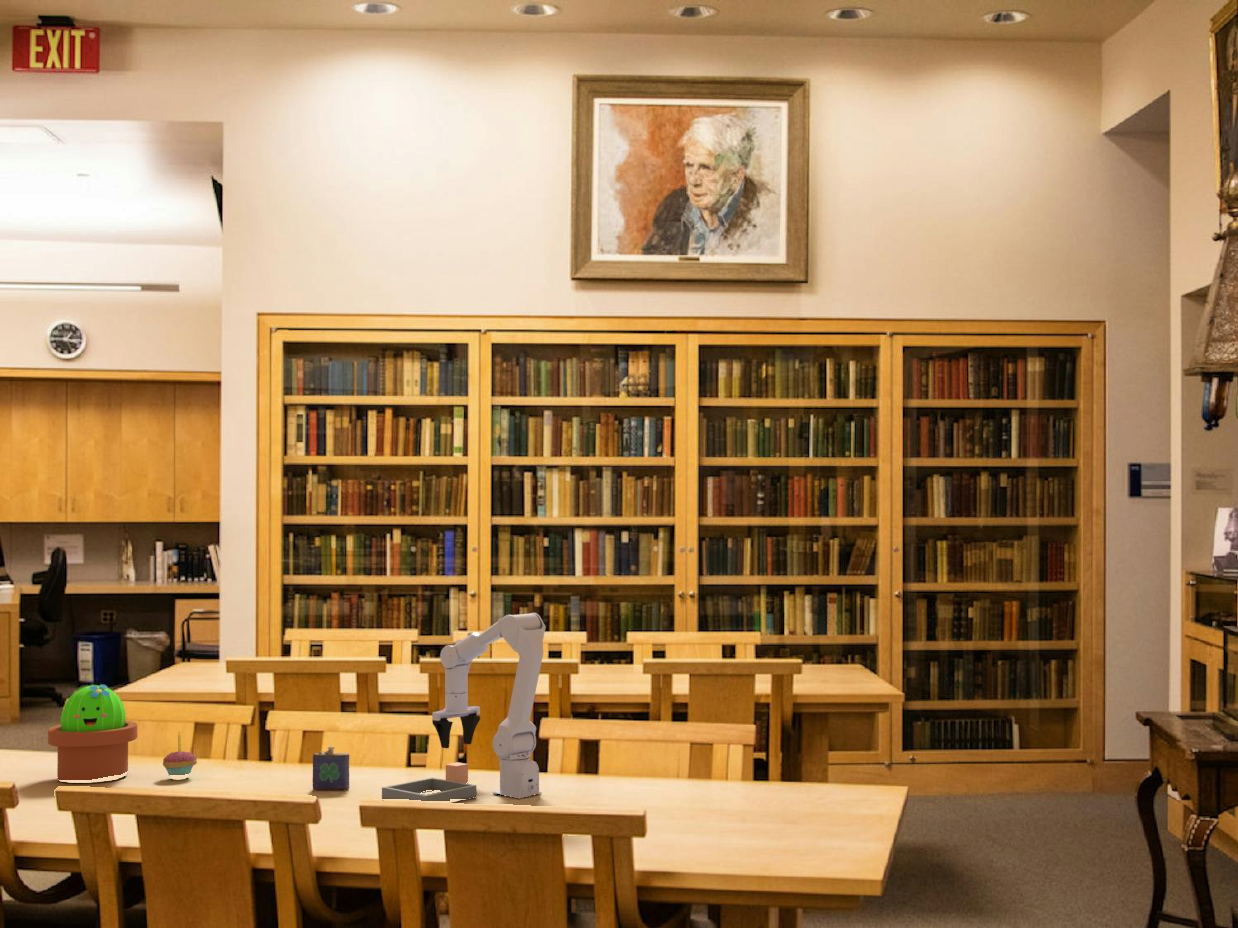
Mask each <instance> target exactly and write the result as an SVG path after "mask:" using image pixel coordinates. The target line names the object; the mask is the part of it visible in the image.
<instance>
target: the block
mask: <svg viewBox="0 0 1238 928" xmlns="http://www.w3.org/2000/svg"><path fill="white" fill-rule="evenodd" d="M468 766H469V764H468V763H463V762H457V761H456V762H452V763H446V764H445V780H449V781H455V782H460V783H467V782H468V783H469V767H468Z"/></svg>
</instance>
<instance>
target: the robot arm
mask: <svg viewBox="0 0 1238 928" xmlns="http://www.w3.org/2000/svg"><path fill="white" fill-rule="evenodd" d="M546 627H547V626H546V625H545V623H544V621H543V619H542V618H541V616H540V615H539V614H538V613H537V612H530V613H524V614H522V613H521V614H506V615H504V616H503V617H500V618H498V620H497V621H496V622H495V623H493V624H492V625H491V626H489V627H488V628H487V629H485V630H484V631H482V632H481V633H480V632H476V631H470V632H468V633H467V636H466V637H464V638H463V639H458V640H457V641H456V643H455V644H453V645H451V644H450V645H449V644H447V645H445V646H444V647H443V648H442V649H441V651H440V654H439V656H440V657H439V658H440V663H441V665H442V666H443V667H444V672H445V673H444V674H445V675H444V678H445V679H444V684H445V685H444V688H445V689H444V699H445V700H444V702H445V703H444V707H445V708H443V709H441V710H438V711H432V713H431V715H432V717H431V718H432V725H433V726H434V728H435V730H436V732H437V736H438V739H439V742H440V743H439V744H440V746H441V748H442V749H449V748H450V741H451V740H450V739H451V737H450V736H451V730H452V726H453V723H454V722H453V721H449V719H454V718H459V719H460V721H461V726H462V735H463V736H462V740H463V744H464V745H465V744H466V745H472V742H473V738H474V733H475V731H476V728H477V725H478V723H479V722H480V720H481V716H480V714H481V707H480V706H478V705H477V706H476V705H474V706H469V704H468V702H469V701H468V696H469V695H468V694H469V689H468V686H469V685H468V681H469V680H468V678H469V676H468V674H469V672H470V667H471V665H472V662H473V661H474V660H475V659H476V658H478V657H479V656H482V655H483V654H485V653H486V652H487V650H488V648H489V645H490V644H493V643H495V642H497V641H499V640H501V639H502V638H503V639H504V641H506V643H507V644H508V645H509V646H510V647H511V648H512V650H513V651H514V652H515V653H517V655H518V656H519V658H518V664H517V668H516V671H515V672H516V673H515V678H514V682H513V683H514V684H513V688H512V693H511V697H510V704H509V708H508V713H507V717H506V718H505V719H504V720H502V722H501V723H500V724H499V725H498V728H497V732H496V733H495V734H494V736H493V739H492V748H493V752H494V753H495V754H496V756H497V759H499V790H496V791H492V792H491V793H493V795H495V794H500V795H499V796H501V795H506V796H511V797H510V798H512V797H514V798H513V799H517V798H518V799H519V800H520V799H524V797H525V798H527V797H528V796H529V797H532V796H531V795H534V794H538V795H542V793H543V792H542V791H540V768H539V765H538V763H537V761H534V760H532V759H531V758H530V757H532V752H533V751H535V748H536V746H537V737H536V731H537V726H536V725H535V724H534V723H533V722H532V721H531V715H532V710H533V705H534V701H535V695H536V692H537V691H536V690H537V687H538V686H537V685H538V682H539V676H540V671H541V667H542V661H543V657H544V635H545V632H546ZM506 796H505V797H506ZM534 796H535V795H534Z"/></svg>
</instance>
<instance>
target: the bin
mask: <svg viewBox="0 0 1238 928" xmlns="http://www.w3.org/2000/svg"><path fill="white" fill-rule="evenodd" d="M426 790H432V791H434V790H440V791H441V792H437V793H432V794H427V795H425V794H420V793H421V792H422V793H426ZM423 791H425V792H423ZM432 791H427V792H432ZM473 797H476V798H477V785H476V784H472V783H468V784H466V783H460V782H455V781H449V780H446V779H442V778H437V777H430V778H429V777H428V778H424V779H423V778H422V779H418V780H413V781H407V782H403V783H398V784H393V785H387V786H382V787H381V800H382V799H409V800H421V801H450V799H469V798H473ZM469 800H470V799H469Z"/></svg>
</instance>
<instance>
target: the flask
mask: <svg viewBox="0 0 1238 928" xmlns="http://www.w3.org/2000/svg"><path fill="white" fill-rule="evenodd" d="M327 749H328V750H326V751H321V750H320V751H319V752H317V753H313V755H312V791H314V792H317V791H318V792H319V791H320V792H323V791H324V792H327V791H328V792H329V791H332V792H333V791H334V792H335V791H336V792H337V791H349V790H350V754H349V753H346V752H344V753H342V752H341V753H340V752H339V753H334V750H335V746H328V747H327Z"/></svg>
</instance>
